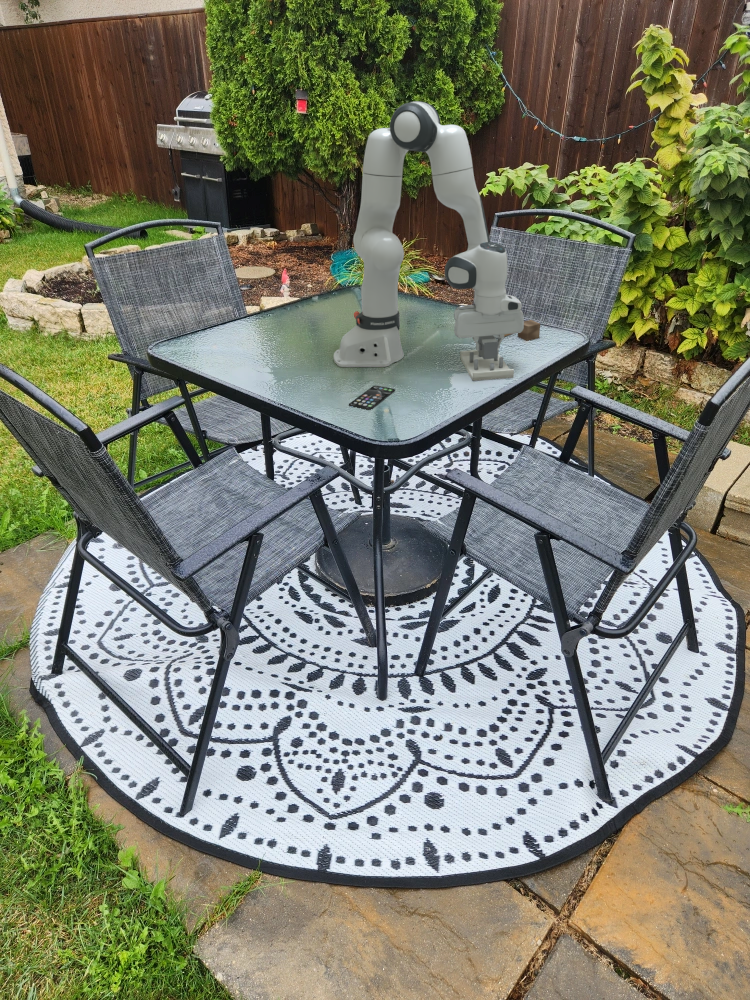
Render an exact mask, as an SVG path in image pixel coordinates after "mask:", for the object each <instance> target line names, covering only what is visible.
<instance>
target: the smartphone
mask: <svg viewBox="0 0 750 1000" xmlns="http://www.w3.org/2000/svg"><path fill="white" fill-rule="evenodd" d="M395 392H396V389H395V388H390V387H386V386H380V385H372V386H371V387H369V389H366V391H364V392H363V393H362V394H360V395H359V396H358V397H357V396H356V398H355V399H354V400H352V401H351V402H349V403H348V406H349V407H350V406H353V407H352V408H355V407H357V408H356V409H360V408H361V410H365V409H366V410H365V411H372V410H374V409H375V408H376V407H377V406H378V405H379V404H381V403H382V402H384V401H385V400H386V399H388V397H390V396H391V395H392V394H394V393H395ZM371 409H372V410H371Z"/></svg>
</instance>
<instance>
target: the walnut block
mask: <svg viewBox="0 0 750 1000" xmlns="http://www.w3.org/2000/svg"><path fill="white" fill-rule="evenodd" d="M540 332H541V323H540V322H537V321H535V320H533V319H528V320H524V329H523V331H522V332H521V333H517V337H518V338H519V339H521V340H523V341H525V342H529V340H530V341H533V340H538V338H539V339H540V335H541V334H540Z"/></svg>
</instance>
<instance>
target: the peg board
mask: <svg viewBox="0 0 750 1000" xmlns="http://www.w3.org/2000/svg"><path fill="white" fill-rule="evenodd" d="M459 352H460V353H459V354H460V355H459V358H460V359H459V360H460V361H461V363H462V364H463V366H464V368H465V370H466V372H467V373H468V375H469V376H470V379H471V380H472V382H477V381H489V380H492V381H493V380H501V379H504V380H505V379H513V378H514V377H515V376H514V375H515V369H514V368H509V366H508V365H507V363H506V362H505V360H504V359H505V358H504V357H502V356H501V355H500V349H498V351H497V358H494V359H483V357H482V356H481V355H480V353H479V352H478V351H477V350H476V349H473V350H472V349H471V350H460V351H459Z"/></svg>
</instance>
